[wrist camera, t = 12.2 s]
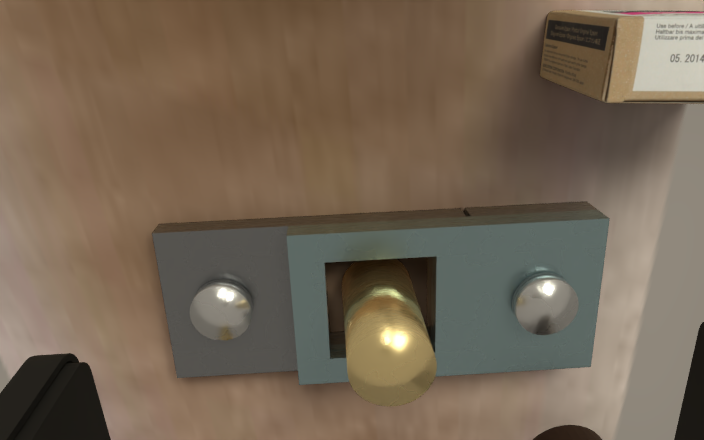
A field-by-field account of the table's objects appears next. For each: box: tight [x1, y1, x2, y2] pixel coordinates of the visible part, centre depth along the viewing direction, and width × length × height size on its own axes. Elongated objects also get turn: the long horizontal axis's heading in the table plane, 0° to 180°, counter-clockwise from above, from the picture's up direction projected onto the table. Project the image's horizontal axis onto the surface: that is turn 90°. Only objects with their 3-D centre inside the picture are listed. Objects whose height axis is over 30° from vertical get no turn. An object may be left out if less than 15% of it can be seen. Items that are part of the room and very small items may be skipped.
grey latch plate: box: [152, 208, 466, 378], centre depth 35 cm, size 10×18×2 cm, turn 92°
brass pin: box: [342, 259, 437, 406], centre depth 32 cm, size 4×4×9 cm
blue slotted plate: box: [287, 202, 609, 385], centre depth 35 cm, size 10×18×4 cm, turn 92°
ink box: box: [540, 10, 704, 104], centre depth 28 cm, size 10×4×8 cm, turn 89°
